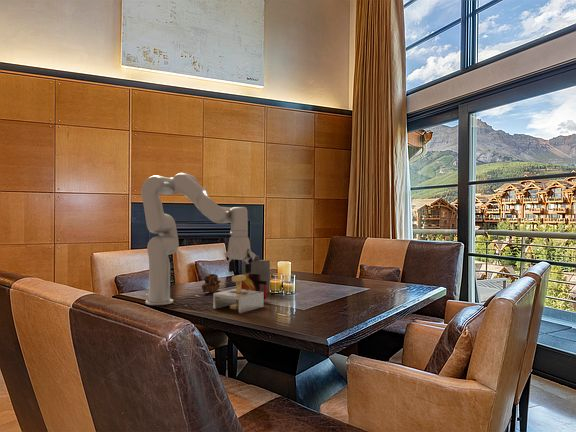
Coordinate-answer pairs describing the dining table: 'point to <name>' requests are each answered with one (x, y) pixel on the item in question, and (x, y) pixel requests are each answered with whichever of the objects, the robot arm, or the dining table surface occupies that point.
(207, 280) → the wooden carving
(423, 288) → the dining table surface
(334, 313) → the dining table surface
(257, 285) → the mug
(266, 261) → the flask
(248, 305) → the white slotted holder
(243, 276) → the tall wooden post
